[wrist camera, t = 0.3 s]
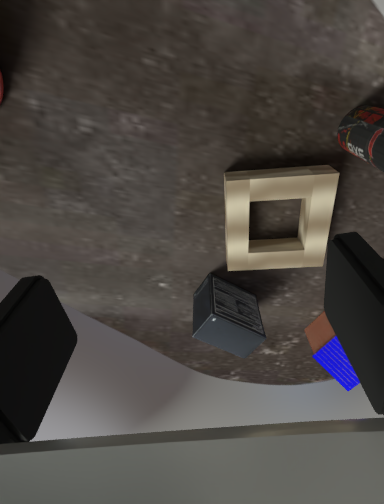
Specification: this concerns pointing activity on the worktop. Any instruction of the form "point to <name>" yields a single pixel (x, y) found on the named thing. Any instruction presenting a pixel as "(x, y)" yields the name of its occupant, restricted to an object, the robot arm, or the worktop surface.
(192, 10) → the worktop surface
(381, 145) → the deodorant
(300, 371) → the worktop surface
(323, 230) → the holder
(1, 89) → the plant pot
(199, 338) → the small box
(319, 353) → the house
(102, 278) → the worktop surface
